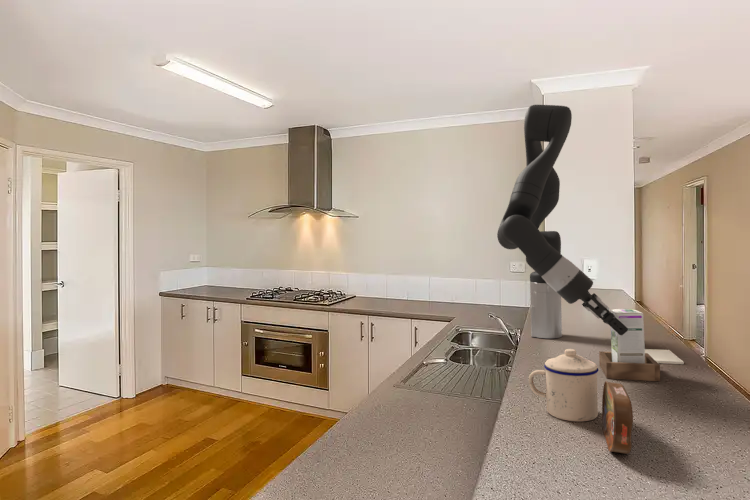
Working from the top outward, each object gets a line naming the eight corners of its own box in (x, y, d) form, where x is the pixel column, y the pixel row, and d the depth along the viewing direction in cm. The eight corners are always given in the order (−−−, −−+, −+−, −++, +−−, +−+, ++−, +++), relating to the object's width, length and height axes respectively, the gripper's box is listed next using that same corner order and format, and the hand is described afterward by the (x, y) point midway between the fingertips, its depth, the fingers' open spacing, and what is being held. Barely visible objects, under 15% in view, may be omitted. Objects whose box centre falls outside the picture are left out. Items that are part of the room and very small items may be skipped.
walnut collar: (606, 378, 105) (606, 362, 105) (599, 365, 115) (599, 351, 115) (660, 381, 101) (659, 365, 101) (647, 367, 111) (647, 353, 111)
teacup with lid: (600, 408, 87) (599, 346, 87) (597, 426, 79) (596, 358, 79) (533, 399, 93) (532, 341, 93) (524, 415, 85) (523, 352, 85)
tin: (600, 422, 81) (599, 374, 81) (621, 424, 80) (620, 375, 80) (611, 462, 67) (610, 404, 67) (636, 465, 66) (635, 406, 66)
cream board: (628, 361, 117) (628, 359, 117) (619, 350, 128) (619, 348, 128) (683, 364, 113) (683, 361, 113) (669, 352, 125) (669, 349, 125)
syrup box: (646, 377, 105) (645, 312, 104) (617, 376, 106) (616, 312, 105) (637, 369, 110) (636, 308, 110) (610, 369, 111) (609, 308, 111)
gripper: (581, 270, 104) (641, 323, 100) (575, 266, 117) (627, 312, 114) (556, 294, 105) (614, 347, 102) (553, 287, 119) (603, 333, 116)
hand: (621, 328), depth 108 cm, fingers open, 8 cm apart
